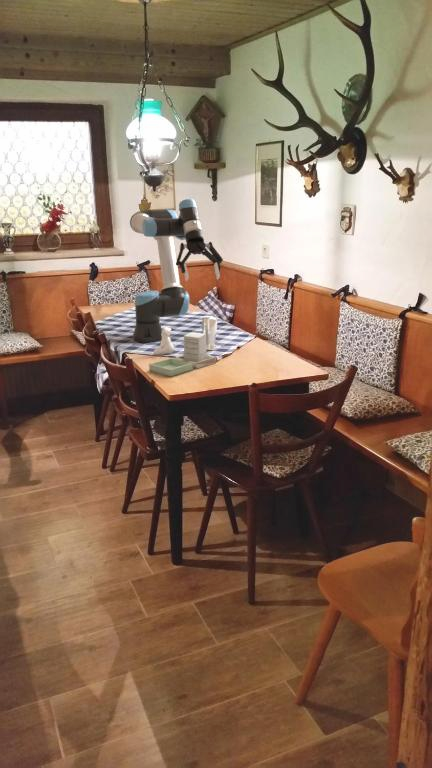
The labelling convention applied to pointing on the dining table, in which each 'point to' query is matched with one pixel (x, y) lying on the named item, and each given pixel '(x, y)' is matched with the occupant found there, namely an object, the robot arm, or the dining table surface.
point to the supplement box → (195, 347)
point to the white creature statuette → (165, 343)
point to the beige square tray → (200, 364)
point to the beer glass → (209, 331)
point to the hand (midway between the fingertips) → (202, 278)
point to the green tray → (170, 367)
